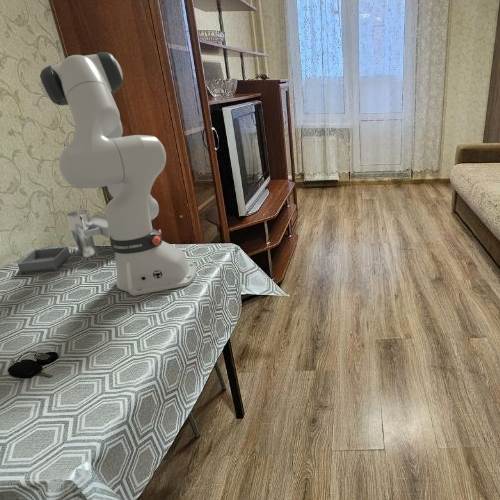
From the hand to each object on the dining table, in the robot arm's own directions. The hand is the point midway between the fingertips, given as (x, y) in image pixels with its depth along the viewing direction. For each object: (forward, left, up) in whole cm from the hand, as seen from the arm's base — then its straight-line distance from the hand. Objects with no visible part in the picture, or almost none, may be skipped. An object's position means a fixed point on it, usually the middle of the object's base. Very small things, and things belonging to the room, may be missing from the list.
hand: (79, 232), depth 124 cm
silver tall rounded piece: (-1, -1, -9) cm, 9 cm away
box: (+11, +4, -9) cm, 15 cm away
